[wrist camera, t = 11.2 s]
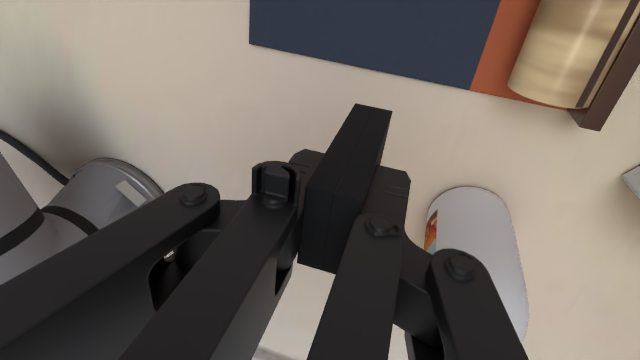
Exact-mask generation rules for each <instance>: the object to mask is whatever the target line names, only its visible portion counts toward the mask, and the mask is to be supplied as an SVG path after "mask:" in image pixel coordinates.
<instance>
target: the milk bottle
mask: <svg viewBox="0 0 640 360" xmlns="http://www.w3.org/2000/svg"><path fill="white" fill-rule="evenodd" d="M448 248H453V249H457V250H461V251H464V252H466V253H468V254H471V255H473V256H474V257H476V258H477V259H478V260H479V261H480V262H482V263H483V265H484V266H485V267H486V269H487V270H488V272H489V274H490V276H491V278H492V281H493V283H494V285H495V287H496V289H497V291H498V294H499V296H500V298H501V300H502V302H503V305H504V307H505V309H506V311H507V313H508V316H509V318H510V320H511V322H512V324H513V326H514V329H515V331H516V333H517V335H518V337H519V340H520V342H521V344H522V342H523V340H524V337H525V334H526V331H527V326H528V318H529V307H528V298H527V292H526V285H525V280H524V275H523V270H522V265H521V261H520V256H519V251H518V247H517V242H516V238H515V233H514V229H513V225H512V220H511V217H510V213H509V210H508V208H507V206H506V205H505V203H504V202H503V201H502V200H501V199H500V198H499V197H498V196H496V195H495V194H493V193H491V192H490V191H487V190H485V189H482V188H477V187H467V186H466V187H458V188H454V189H451V190H449V191H446V192H444V193H443V194H442V195H440V196H439V197H438V198H436V199H435V201H434V202H433V203H432V204H431V206H430V208H429V211H428V215H427V223H426V233H425V243H424V250H425V251H427V252H429V253H431V254H432V255H433V254H434V253H435V252H436V251H438V250H441V249H448Z"/></svg>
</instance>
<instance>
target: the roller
mask: <svg viewBox="0 0 640 360" xmlns="http://www.w3.org/2000/svg"><path fill="white" fill-rule="evenodd" d="M639 13H640V0H541V1H540V3H539V6H538V8H537V10H536V13H535V15H534V18H533V20H532V23H531V25H530V28H529V30H528V33H527V35H526V38H525V40H524V43H523V45H522V48H521V50H520V53H519V55H518V58H517V60H516V63H515V65H514V68H513V70H512V73H511V75H510V78H509V80H508V83H507V85H508V87H509V88H510V89H511V90H513V91H514V92H516V93H518V94H520V95H522V96H524V97H526V98H529V99H532V100H535V101H538V102H541V103H545V104H549V105H553V106H558V107H564V108H575V109H580V108H586V107H588V106H589V105H590V103H591V102H592V100H593V98H594V96H595V94H596V92H597V90H598V89H599V87H600V85H601V83H602V81H603V79H604V78H605V76H606V74H607V72H608V70H609V68H610V66H611V65H612V63H613V61H614V59H615V57H616V55H617V54H618V52H619V50H620V48H621V46H622V44H623V42H624V41H625V39H626V37H627V35H628V33H629V31H630V30H631V28H632V26H633V24H634V22H635V20H636V18H637V17H638V15H639Z"/></svg>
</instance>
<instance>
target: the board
mask: <svg viewBox="0 0 640 360" xmlns="http://www.w3.org/2000/svg"><path fill="white" fill-rule="evenodd" d="M540 1H541V0H250V26H249V44H253V45H258V46H262V47H267V48H272V49H277V50H281V51H286V52H291V53H296V54H300V55H305V56H310V57H315V58H319V59H324V60H329V61H334V62H338V63H343V64H348V65H352V66H357V67H362V68H367V69H371V70H376V71H381V72H386V73H390V74H395V75H400V76H405V77H409V78H414V79H419V80H424V81H428V82H433V83H438V84H443V85H447V86H452V87H457V88H462V89H466V90H471V91H476V92H481V93H486V94H490V95H495V96H500V97H505V98H509V99H514V100H519V101H524V102H528V103H533V104H538V105H543V106H547V107H552V108H557V109H562V110H567V111H568V112H569V114H570V115H571V117H572V118H573V119H574V121H575V122H576V123H577V125H578V126H579V127H581V128H586V129H590V130H595V131H600V130H601V128H602V127H603V125H604V123H605V122H606V120H607V118H608V116H609V115H610V113H611V111H612V110H613V108H614V106H615V105H616V103H617V101H618V99H619V98H620V96H621V94H622V93H623V91H624V89H625V88H626V86H627V84H628V82H629V81H630V79H631V77H632V76H633V74H634V72H635V71H636V69H637V67H638V65H639V64H640V13H639V15H638V17H637V18H636V20H635V22H634V24H633V26H632V28H631V30H630V31H629V33H628V35H627V37H626V39H625V41H624V42H623V44H622V46H621V48H620V50H619V52H618V54H617V55H616V57H615V59H614V61H613V63H612V65H611V66H610V68H609V70H608V72H607V74H606V76H605V78H604V79H603V81H602V83H601V85H600V87H599V89H598V90H597V92H596V94H595V96H594V98H593V100H592V102H591V103H590V105H589V106H588V107H586V108H580V109H575V108H564V107H558V106H553V105H549V104H545V103H541V102H538V101H535V100H532V99H529V98H526V97H524V96H522V95H520V94H518V93H516V92H514V91H513V90H511V89H510V88H509V87H508V85H507V83H508V80H509V78H510V75H511V73H512V70H513V68H514V65H515V63H516V60H517V58H518V55H519V53H520V50H521V48H522V45H523V43H524V40H525V38H526V35H527V33H528V30H529V28H530V25H531V23H532V20H533V18H534V15H535V13H536V10H537V8H538V6H539V3H540Z"/></svg>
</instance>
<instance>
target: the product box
mask: <svg viewBox="0 0 640 360" xmlns="http://www.w3.org/2000/svg"><path fill="white" fill-rule="evenodd" d="M622 177H623V179H624V180H625V182H626V183H627V184H628V186H629V187H630V188H631V189H632V191H633V192H634V193H635V194H636V195H637V197H638V198H639V199H640V166H638V167H636V168H635V169H633V170H631V171H629V172H627V173H625V174H624V175H623V176H622Z"/></svg>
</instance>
